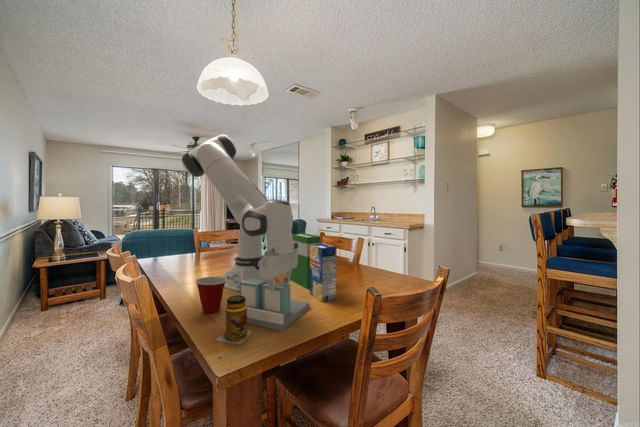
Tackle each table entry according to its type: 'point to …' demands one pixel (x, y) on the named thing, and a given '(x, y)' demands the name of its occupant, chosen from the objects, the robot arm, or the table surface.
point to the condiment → (235, 321)
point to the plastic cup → (211, 293)
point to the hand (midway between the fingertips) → (280, 286)
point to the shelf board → (276, 316)
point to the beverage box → (323, 271)
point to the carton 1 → (252, 292)
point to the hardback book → (303, 259)
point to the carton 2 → (277, 298)
